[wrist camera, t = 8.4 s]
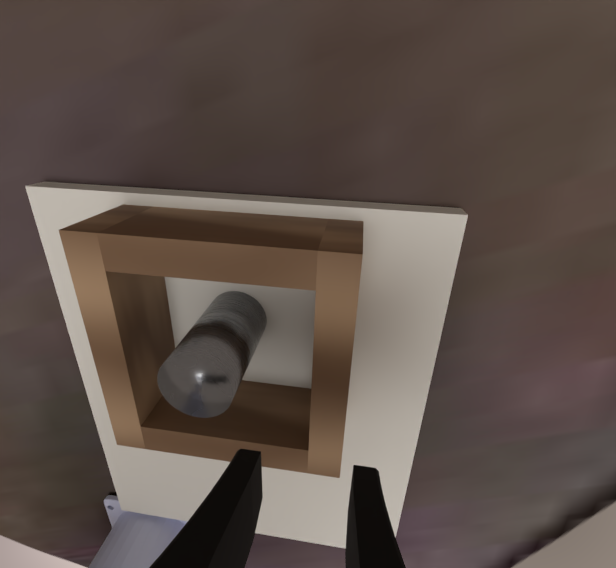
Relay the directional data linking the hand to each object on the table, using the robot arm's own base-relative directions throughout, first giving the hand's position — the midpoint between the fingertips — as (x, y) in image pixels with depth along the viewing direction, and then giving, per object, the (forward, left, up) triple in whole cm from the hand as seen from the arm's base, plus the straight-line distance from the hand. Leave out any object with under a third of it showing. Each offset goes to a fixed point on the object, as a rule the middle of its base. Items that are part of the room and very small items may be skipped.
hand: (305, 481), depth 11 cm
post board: (-6, +5, -10) cm, 12 cm away
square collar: (0, +4, -8) cm, 9 cm away
